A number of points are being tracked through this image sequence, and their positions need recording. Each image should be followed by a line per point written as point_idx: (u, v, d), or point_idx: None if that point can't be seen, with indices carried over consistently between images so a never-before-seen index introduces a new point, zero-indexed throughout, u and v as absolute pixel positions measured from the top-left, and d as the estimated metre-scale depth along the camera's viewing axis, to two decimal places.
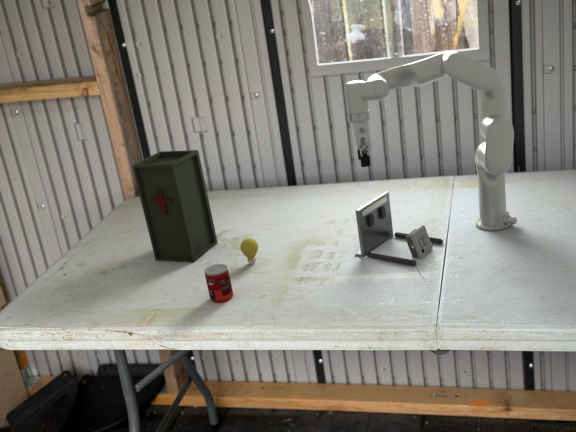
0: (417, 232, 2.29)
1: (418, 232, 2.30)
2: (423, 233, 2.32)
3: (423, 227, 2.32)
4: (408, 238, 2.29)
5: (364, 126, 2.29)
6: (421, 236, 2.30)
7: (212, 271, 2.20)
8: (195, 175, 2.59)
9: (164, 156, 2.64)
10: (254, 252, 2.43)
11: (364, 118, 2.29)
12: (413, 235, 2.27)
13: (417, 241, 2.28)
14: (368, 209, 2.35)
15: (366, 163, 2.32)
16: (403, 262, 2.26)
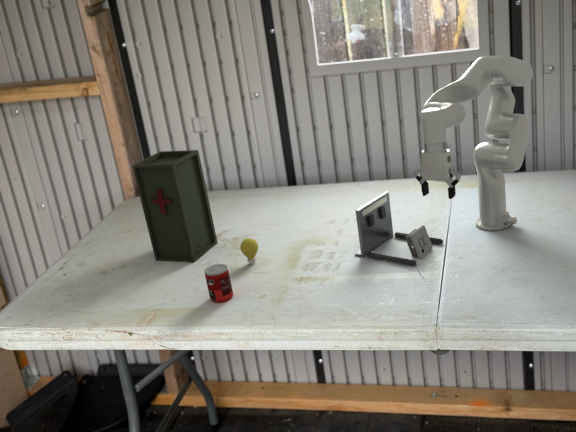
0: (417, 232, 2.29)
1: (418, 232, 2.30)
2: (423, 233, 2.32)
3: (423, 227, 2.32)
4: (408, 238, 2.29)
5: (450, 154, 2.12)
6: (421, 236, 2.30)
7: (212, 271, 2.20)
8: (195, 175, 2.59)
9: (164, 156, 2.64)
10: (254, 252, 2.43)
11: None
12: (413, 235, 2.27)
13: (417, 241, 2.28)
14: (368, 209, 2.35)
15: (454, 193, 2.15)
16: (403, 262, 2.26)
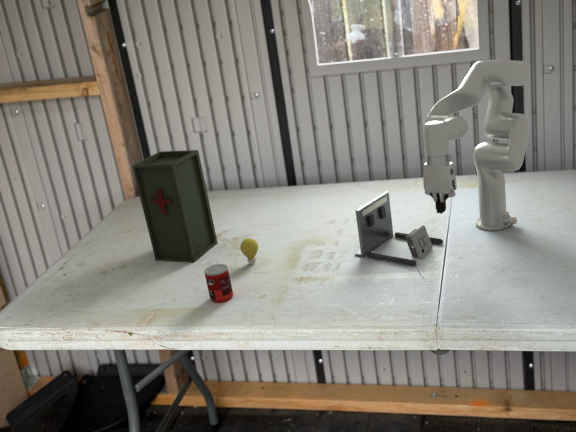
0: (417, 232, 2.29)
1: (418, 232, 2.30)
2: (423, 233, 2.32)
3: (423, 227, 2.32)
4: (408, 238, 2.29)
5: (452, 167, 2.13)
6: (421, 236, 2.30)
7: (212, 271, 2.20)
8: (195, 175, 2.59)
9: (164, 156, 2.64)
10: (254, 252, 2.43)
11: None
12: (413, 235, 2.27)
13: (417, 241, 2.28)
14: (368, 209, 2.35)
15: (445, 208, 2.19)
16: (403, 262, 2.26)
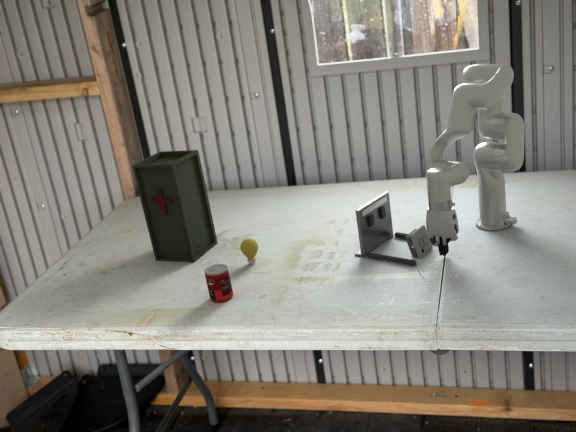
0: (417, 232, 2.29)
1: (418, 232, 2.30)
2: (423, 233, 2.32)
3: (423, 227, 2.32)
4: (408, 238, 2.29)
5: (455, 212, 2.19)
6: (421, 236, 2.30)
7: (212, 271, 2.20)
8: (195, 175, 2.59)
9: (164, 156, 2.64)
10: (254, 252, 2.43)
11: None
12: (413, 235, 2.27)
13: (417, 241, 2.28)
14: (368, 209, 2.35)
15: (448, 250, 2.25)
16: (403, 262, 2.26)
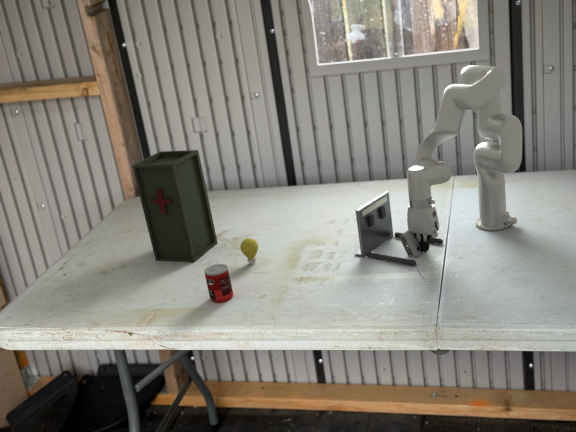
0: None
1: None
2: None
3: None
4: (402, 237, 2.31)
5: (435, 209, 2.23)
6: None
7: (212, 271, 2.20)
8: (195, 175, 2.59)
9: (164, 156, 2.64)
10: (254, 252, 2.43)
11: None
12: (406, 234, 2.29)
13: (411, 240, 2.30)
14: (368, 209, 2.35)
15: (428, 247, 2.30)
16: (403, 262, 2.26)
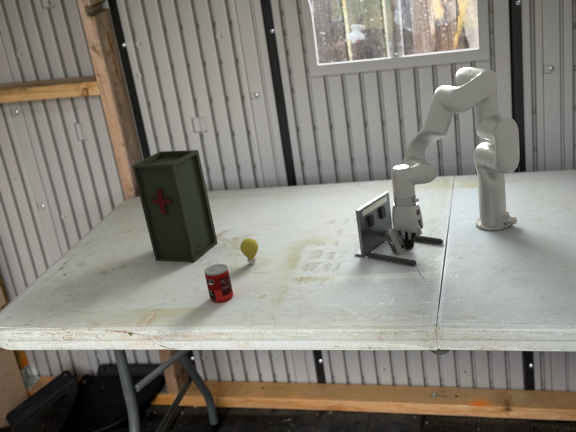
0: None
1: None
2: None
3: None
4: (387, 235, 2.35)
5: (419, 207, 2.27)
6: None
7: (212, 271, 2.20)
8: (195, 175, 2.59)
9: (164, 156, 2.64)
10: (254, 252, 2.43)
11: None
12: (391, 231, 2.33)
13: (395, 237, 2.34)
14: (368, 209, 2.35)
15: (413, 245, 2.34)
16: (403, 262, 2.26)
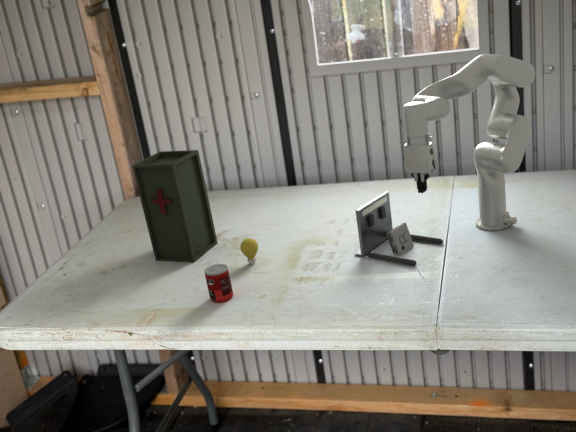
0: (397, 229, 2.34)
1: (399, 229, 2.35)
2: (404, 230, 2.37)
3: (404, 224, 2.37)
4: (389, 235, 2.34)
5: (432, 147, 2.16)
6: (401, 233, 2.35)
7: (212, 271, 2.20)
8: (195, 175, 2.59)
9: (164, 156, 2.64)
10: (254, 252, 2.43)
11: None
12: (393, 232, 2.32)
13: (397, 238, 2.33)
14: (368, 209, 2.35)
15: (426, 188, 2.23)
16: (403, 262, 2.26)
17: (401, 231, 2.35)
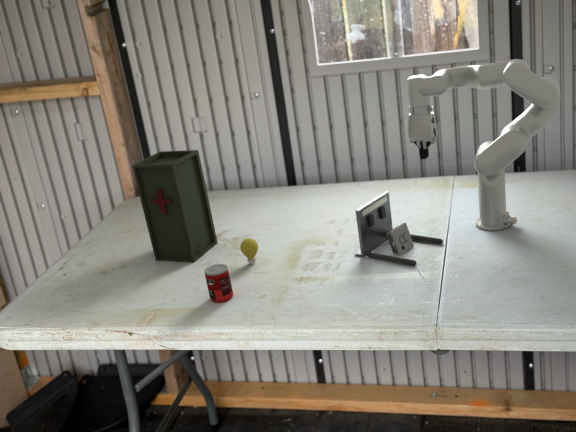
0: (398, 229, 2.34)
1: (399, 229, 2.35)
2: (404, 230, 2.37)
3: (404, 224, 2.37)
4: (389, 235, 2.34)
5: (434, 116, 2.38)
6: (401, 233, 2.35)
7: (212, 271, 2.20)
8: (195, 175, 2.59)
9: (164, 156, 2.64)
10: (254, 252, 2.43)
11: None
12: (393, 232, 2.32)
13: (397, 238, 2.33)
14: (368, 209, 2.35)
15: (428, 154, 2.44)
16: (403, 262, 2.26)
17: (401, 231, 2.35)
